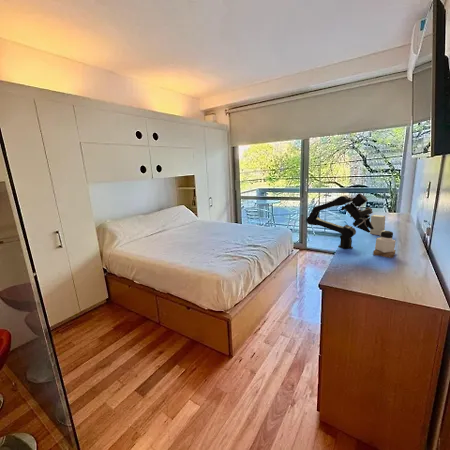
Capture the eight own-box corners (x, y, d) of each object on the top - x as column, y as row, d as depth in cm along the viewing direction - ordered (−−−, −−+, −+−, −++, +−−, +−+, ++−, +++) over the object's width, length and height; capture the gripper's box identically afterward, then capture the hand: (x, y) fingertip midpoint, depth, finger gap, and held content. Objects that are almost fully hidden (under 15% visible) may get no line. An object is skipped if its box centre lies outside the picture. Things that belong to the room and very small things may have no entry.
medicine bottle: (394, 251, 146) (397, 232, 143) (384, 252, 145) (387, 233, 142) (384, 247, 153) (387, 229, 150) (374, 248, 151) (377, 230, 148)
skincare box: (384, 234, 189) (386, 215, 186) (380, 236, 186) (382, 216, 183) (372, 232, 196) (374, 214, 193) (369, 233, 193) (371, 215, 190)
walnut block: (372, 255, 149) (373, 251, 148) (376, 251, 156) (376, 246, 156) (392, 259, 143) (393, 254, 142) (395, 254, 150) (395, 249, 149)
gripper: (360, 205, 144) (380, 226, 140) (368, 201, 158) (386, 220, 153) (345, 216, 151) (363, 236, 147) (353, 212, 165) (370, 230, 160)
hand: (371, 230), depth 152 cm, fingers open, 9 cm apart
